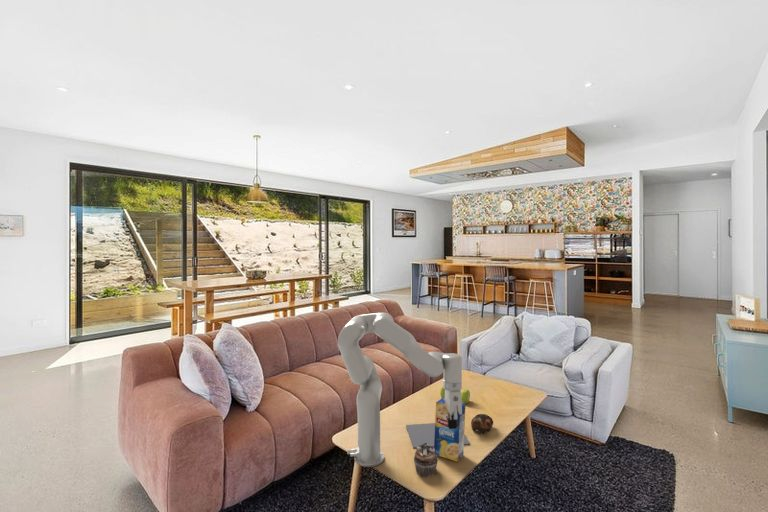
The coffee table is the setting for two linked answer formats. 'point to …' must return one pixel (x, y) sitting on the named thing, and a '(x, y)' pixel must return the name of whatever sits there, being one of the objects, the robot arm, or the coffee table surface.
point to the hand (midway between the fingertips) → (452, 427)
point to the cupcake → (425, 460)
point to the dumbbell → (464, 395)
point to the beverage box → (448, 433)
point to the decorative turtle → (482, 423)
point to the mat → (424, 434)
